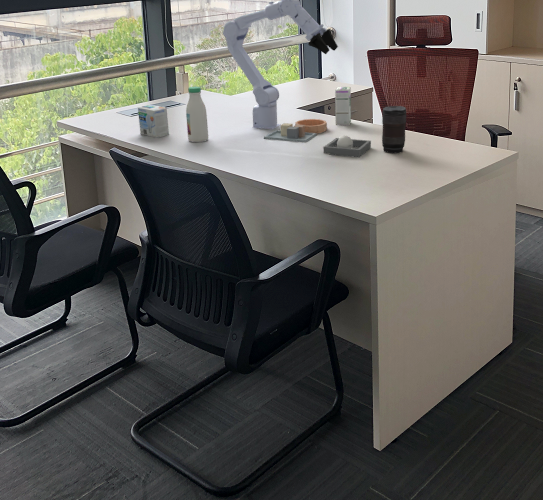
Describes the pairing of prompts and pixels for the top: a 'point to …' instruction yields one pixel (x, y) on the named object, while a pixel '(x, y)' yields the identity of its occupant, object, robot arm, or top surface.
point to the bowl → (313, 125)
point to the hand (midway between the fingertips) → (331, 50)
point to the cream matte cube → (285, 128)
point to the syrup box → (343, 106)
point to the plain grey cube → (293, 132)
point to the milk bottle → (196, 116)
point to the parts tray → (277, 136)
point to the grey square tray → (361, 144)
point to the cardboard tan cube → (301, 130)
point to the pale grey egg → (345, 142)
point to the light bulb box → (153, 121)
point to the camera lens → (393, 129)
